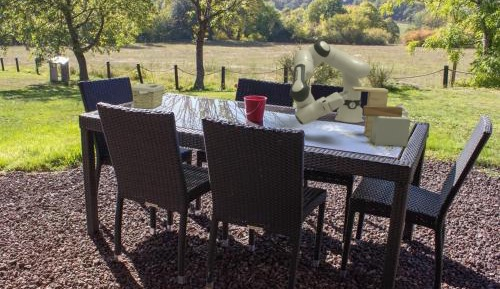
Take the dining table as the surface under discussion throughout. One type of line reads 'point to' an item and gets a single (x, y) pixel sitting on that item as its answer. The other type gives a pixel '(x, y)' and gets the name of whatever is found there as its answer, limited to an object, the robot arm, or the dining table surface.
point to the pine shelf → (373, 103)
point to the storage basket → (147, 95)
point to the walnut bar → (382, 111)
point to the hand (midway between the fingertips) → (349, 92)
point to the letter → (393, 117)
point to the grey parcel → (390, 131)
